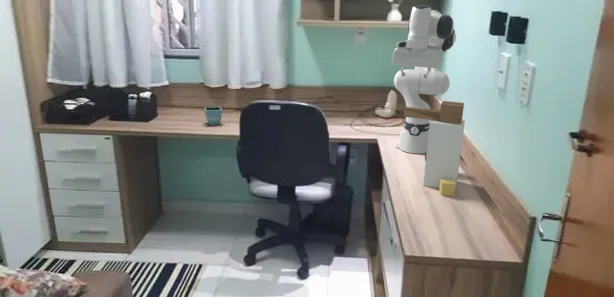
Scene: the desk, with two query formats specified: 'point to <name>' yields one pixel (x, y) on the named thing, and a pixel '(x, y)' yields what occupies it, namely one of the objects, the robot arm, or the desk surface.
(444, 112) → the brown block
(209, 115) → the flower pot
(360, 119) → the desk surface
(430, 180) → the white block
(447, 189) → the mustard block
